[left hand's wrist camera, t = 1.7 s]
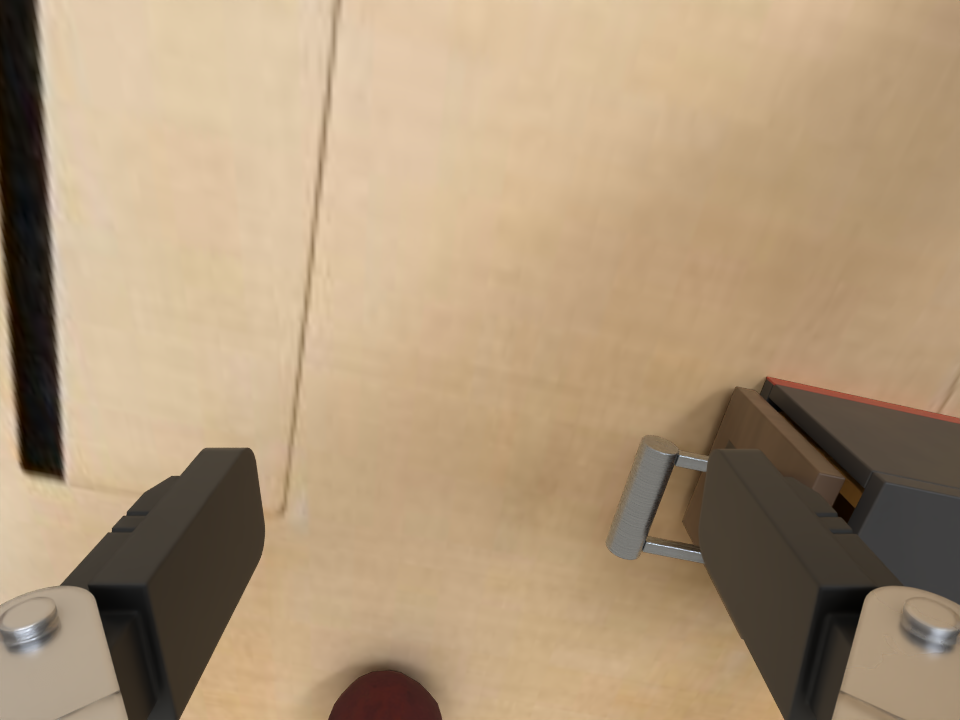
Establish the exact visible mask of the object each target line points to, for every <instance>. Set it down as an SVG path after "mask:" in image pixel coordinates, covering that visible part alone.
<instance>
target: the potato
mask: <svg viewBox="0 0 960 720" xmlns="http://www.w3.org/2000/svg"><path fill="white" fill-rule="evenodd" d="M328 720H442V717H441V713H440V710H439V707H438V703H437V702H436V701H435V700H434V698H433V697H432V696H431V694H430V693H429V692H428V691H427V690H426V689H425V688H424V687H423V686H422V685H421V684H420V683H418V682H417V681H415V680H413V679H411V678H410V677H408V676H406V675H404V674H403V673H400V672H396V671H391V670H388V671H376V672H371V673H368V674H366V675H364V676H361V677H359V678H358V679H357V680H356V681H354V682H353V683H352V684H351V685H350V686H349V687H348V688H347V689H346V690H345V691H344V692H343V693H342V694H341V696H340V697H339V699H338V700H337V701H336V703H335V704H334V707H333V709H332V711H331V714H330V716H329V719H328Z"/></svg>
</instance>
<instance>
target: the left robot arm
mask: <svg viewBox="0 0 960 720" xmlns="http://www.w3.org/2000/svg"><path fill="white" fill-rule="evenodd" d="M698 537H699V546H700V551H701V555H702V558H703V561H704V563H705V565H706V567H707V569H708V571H709V573H710V575H711V577H712V579H713V581H714V583H715V585H716V587H717V589H718V590H719V592H720V594H721V596H722V598H723V600H724V602H725V604H726V606H727V608H728V610H729V612H730V614H731V616H732V618H733V620H734V622H735V624H736V626H737V628H738V630H739V632H740V634H741V635H742V637H743V639H744V641H745V643H746V645H747V647H748V649H749V651H750V653H751V655H752V657H753V659H754V661H755V663H756V665H757V667H758V669H759V671H760V673H761V675H762V677H763V679H764V680H765V682H766V684H767V686H768V688H769V690H770V692H771V694H772V696H773V698H774V700H775V702H776V704H777V706H778V708H779V710H780V712H781V714H782V716H783V718H784V720H960V605H958V604H957V603H955V602H953V601H951V600H949V599H946V598H944V597H942V596H939V595H937V594H934V593H931V592H928V591H925V590H921V589H917V588H912V587H905V586H904V585H903V584H902V583H901V582H900V581H899V580H898V579H897V578H896V576H895V575H894V574H893V573H892V572H891V571H890V570H889V569H888V568H887V567H886V566H885V564H884V563H883V562H882V561H881V560H880V559H879V558H878V557H877V556H876V555H875V554H874V552H873V551H872V550H871V549H870V548H869V547H868V546H867V545H866V544H865V543H864V542H863V540H862V539H861V538H860V537H859V536H858V535H857V534H853V530H852V528H851V527H850V526H849V525H848V524H847V523H846V522H845V521H844V520H843V519H842V518H841V517H838V513H837V512H836V511H835V510H834V509H833V508H832V507H831V506H830V505H829V503H828V502H827V501H826V500H825V499H824V498H823V497H822V496H821V495H820V494H819V493H818V492H816V491H814V490H813V489H811V488H809V487H808V486H806V485H804V484H803V483H801V482H799V481H798V480H796V479H794V478H793V477H784V476H783V475H782V474H781V473H780V472H779V471H778V469H777V468H776V467H775V466H774V465H773V464H772V462H771V461H770V460H769V459H768V458H767V457H766V455H765V454H764V453H763V452H762V451H761V450H759V449H714V450H713V451H712V452H711V453H710V455H709V458H708V463H707V470H706V477H705V484H704V491H703V498H702V505H701V512H700V519H699V527H698ZM264 539H265V523H264V515H263V508H262V501H261V494H260V487H259V480H258V473H257V466H256V460H255V456H254V453H253V451H252V450H251V449H250V448H205V449H203V450H202V451H201V452H200V453H199V454H198V455H197V457H196V458H195V459H194V460H193V461H192V462H191V464H190V465H189V466H188V467H187V468H186V470H185V471H184V472H183V473H182V474H181V475H180V476H171V477H169V478H168V479H166V480H164V481H163V482H161V483H159V484H158V485H156V486H154V487H153V488H151V489H150V490H148V491H146V492H145V493H144V494H143V495H142V496H141V497H140V498H139V499H138V500H137V501H136V502H135V504H134V505H133V506H132V507H131V508H130V509H129V510H128V511H127V515H126V516H123V517H122V518H121V519H120V520H119V521H118V522H117V523H116V524H115V526H114V527H113V528H112V532H111V533H107V534H106V535H105V537H104V538H103V539H102V540H101V541H100V542H99V543H98V544H97V545H96V546H95V548H94V549H93V550H92V551H91V552H90V553H89V554H88V555H87V556H86V557H85V559H84V560H83V561H82V562H81V563H80V564H79V565H78V566H77V567H76V568H75V570H74V571H73V572H72V573H71V574H70V575H69V576H68V577H67V578H66V579H65V581H64V582H63V583H62V584H61V585H60V586H55V587H48V588H43V589H39V590H35V591H32V592H29V593H26V594H23V595H21V596H18V597H16V598H13V599H11V600H9V601H7V602H5V603H3V604H2V605H0V720H179V719H180V717H181V715H182V713H183V711H184V709H185V707H186V705H187V703H188V701H189V699H190V697H191V695H192V693H193V691H194V689H195V687H196V685H197V683H198V681H199V679H200V677H201V675H202V673H203V671H204V670H205V668H206V666H207V664H208V662H209V660H210V658H211V656H212V654H213V652H214V650H215V648H216V646H217V644H218V642H219V640H220V638H221V636H222V634H223V632H224V630H225V628H226V626H227V624H228V622H229V620H230V618H231V616H232V614H233V612H234V610H235V608H236V606H237V604H238V602H239V600H240V598H241V596H242V594H243V592H244V590H245V588H246V586H247V584H248V582H249V580H250V578H251V576H252V574H253V572H254V570H255V568H256V566H257V564H258V563H259V560H260V558H261V555H262V551H263V546H264Z"/></svg>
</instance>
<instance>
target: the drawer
mask: <svg viewBox="0 0 960 720" xmlns="http://www.w3.org/2000/svg"><path fill="white" fill-rule="evenodd" d="M714 449H759V450H761V451H762V452H763V453H764V454H765V455H766V457H767V458H768V459H769V460H770V461H771V462H772V464H773V465H774V466H775V467H776V468H777V469H778V471H779V472H780V473H781V474H782V475H783V476H784V477H793V478H794V479H796V480H798V481H799V482H801V483H803V484H804V485H806V486H808V487H809V488H811V489H813V490H814V491H816V492H818V493H819V494H820V495H821V496H822V497H823V498H824V499H825V500H826V501H827V502H828V503H829V505H830V506H831V507H832V508H833V509H834V510H835V511H836V512H837V513H838V517H841V518H842V519H843V520H844V521H845V522H846V523H848V521H849V519H850V517H851V515H852V513H853V511H854V509H855V507H856V505H857V503H858V501H859V499H860V498H861V496H862V494H863V492H864V490H865V488H863V487H862V486H861V485H860V484H859V483H858V482H857V481H856V480H855V479H854V478H853V477H852V476H851V475H850V474H849V473H847V472H846V471H845V470H844V469H843V468H842V467H841V466H840V465H839V464H838V463H837V462H836V461H835V460H834V459H833V458H832V457H831V456H830V455H829V454H828V453H827V452H825V451H824V450H823V449H822V448H821V447H820V446H819V445H818V444H817V443H816V442H815V441H814V440H813V439H812V438H811V437H810V436H809V435H808V434H807V433H806V432H805V431H803V430H802V429H801V428H800V427H799V426H798V425H797V424H796V423H795V422H794V421H793V420H792V419H791V418H790V417H789V416H788V415H787V414H786V413H784V412H779V411H778V412H777V411H776V410H775V409H774V408H773V407H772V406H771V405H770V404H769V403H768V402H767V401H766V400H765V399H764V398H763V397H762V396H761V395H760V394H759V393H758V392H757V391H755V390H750V389H746V388H741V387H735V390H734V392H733V395H732V397H731V400H730V402H729V405H728V407H727V410H726V412H725V415H724V417H723V420H722V422H721V425H720V427H719V430H718V433H717V435H716V438H715V440H714V443H713V445H712V448H711V450H710V453H711V452H712V451H713V450H714ZM710 453H709V455H710ZM709 455H708V456H706V455H701V454H696V453H691V452H686V451H681V450H679V449H678V447H677V446H676V445H675V444H673V443H672V442H670V441H668V440H666V439H664V438H661V437H658V436H652V435H647V436H644V437H643V438H642V440H641V443H640V446H639V449H638V451H637V454H636V457H635V460H634V463H633V466H632V468H631V471H630V474H629V477H628V480H627V483H626V485H625V488H624V491H623V494H622V497H621V500H620V502H619V505H618V508H617V511H616V514H615V516H614V519H613V522H612V525H611V528H610V531H609V533H608V536H607V539H606V546H607V548H608V549H609V550H610V551H611V552H612V553H613V554H614V555H616V556H618V557H620V558H623V559H627V560H634V559H637V558H638V557H639V556H640V554H641V551H643V552H646V553H652V554H657V555H662V556H667V557H672V558H678V559H683V560H688V561H693V562H698V563H703V564H704V566H705V568H706V570H707V572H708V574H709V576H710V578H711V580H712V582H713V584H714V586H715V588H716V590H717V592H718V594H719V596H720V598H721V600H722V602H723V604H724V606H725V608H726V610H727V612H728V614H729V616H730V617H731V619H732V621H733V623H734V625H735V627H736V629H737V631H738V633H739V635H740V637H741V639H743V637H742V635H741V634H740V632H739V630H738V628H737V626H736V624H735V622H734V620H733V618H732V616H731V614H730V612H729V610H728V608H727V606H726V604H725V602H724V600H723V598H722V596H721V594H720V592H719V590H718V589H717V587H716V585H715V583H714V581H713V579H712V577H711V575H710V573H709V571H708V569H707V567H706V565H705V563H704V561H703V558H702V555H701V551H700V546H699V537H698V527H699V519H700V512H701V505H702V498H703V491H704V484H705V477H706V470H707V463H708V458H709ZM674 464H675V466H678V467H683V468H688V469H693V470H698V471H702V473H701V475H700V478H699V480H698V483H697V485H696V488H695V490H694V493H693V495H692V498H691V500H690V503H689V505H688V508H687V510H686V513H685V515H684V518H683V520H682V522H683V524H684V526H685V528H686V530H687V532H688V534H689V536H690V538H691V540H692V542H693V544H694V545H691V544H686V543H681V542H676V541H671V540H666V539H661V538H655V537H650V536H647V535H648V533H649V530H650V527H651V525H652V522H653V520H654V517H655V514H656V512H657V509H658V506H659V504H660V501H661V498H662V496H663V493H664V491H665V488H666V485H667V483H668V480H669V477H670V475H671V472H672V469H673V467H674Z"/></svg>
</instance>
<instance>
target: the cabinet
mask: <svg viewBox="0 0 960 720" xmlns="http://www.w3.org/2000/svg"><path fill="white" fill-rule="evenodd" d="M760 395H761V396H762V397H763V398H764V399H765V400H766V401H767V402H768V403H769V404H770V405H771V406H772V407H773V408H774V409H775V410H776V411H777V412H778V411H779V412H784V413H786V414H787V415H788V416H789V417H790V418H791V419H792V420H793V421H794V422H795V423H796V424H797V425H798V426H799V427H800V428H801V429H802V430H803V431H805V432H806V433H807V434H808V435H809V436H810V437H811V438H812V439H813V440H814V441H815V442H816V443H817V444H818V445H819V446H820V447H821V448H822V449H823V450H824V451H825V452H827V453H828V454H829V455H830V456H831V457H832V458H833V459H834V460H835V461H836V462H837V463H838V464H839V465H840V466H841V467H842V468H843V469H844V470H845V471H846V472H847V473H849V474H850V475H851V476H852V477H853V478H854V479H855V480H856V481H857V482H858V483H859V484H860V485H861V486H862V487H863V488H865V490H864V492H863V494H862V496H861V498H860V499H859V501H858V503H857V505H856V507H855V509H854V511H853V513H852V515H851V517H850V519H849V521H848V523H847V524H848V525H849V526H850V527H851V528H852V530H853V534H857V535H858V536H859V537H860V538H861V539H862V540H863V542H864V543H865V544H866V545H867V546H868V547H869V548H870V549H871V550H872V551H873V552H874V554H875V555H876V556H877V557H878V558H879V559H880V560H881V561H882V562H883V563H884V564H885V566H886V567H887V568H888V569H889V570H890V571H891V572H892V573H893V574H894V575H895V576H896V578H897V579H898V580H899V581H900V582H901V583H902V584H903V585H904V586H905V587H912V588H917V589H921V590H925V591H928V592H931V593H934V594H937V595H939V596H942V597H944V598H946V599H949V600H951V601H953V602H955V603H957V604H958V605H960V418H955V417H951V416H946V415H942V414H937V413H932V412H928V411H923V410H918V409H914V408H909V407H905V406H900V405H895V404H891V403H886V402H882V401H877V400H872V399H868V398H863V397H859V396H854V395H849V394H845V393H840V392H836V391H831V390H826V389H822V388H817V387H813V386H808V385H803V384H799V383H794V382H790V381H785V380H780V379H776V378H771V377H767V378H766V382H765V384H764V387H763V389H762V391H761V394H760Z"/></svg>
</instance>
